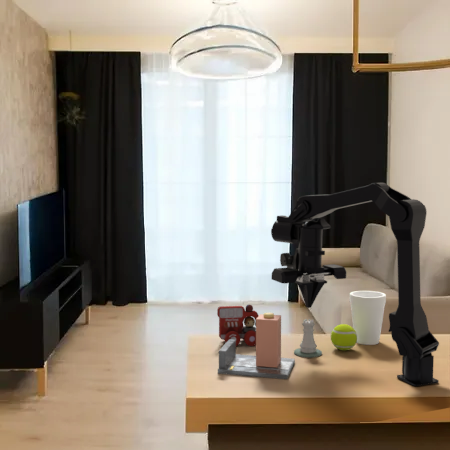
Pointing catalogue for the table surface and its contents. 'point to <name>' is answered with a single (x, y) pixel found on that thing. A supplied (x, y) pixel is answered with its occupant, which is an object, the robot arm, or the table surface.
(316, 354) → the round pad
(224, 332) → the toy fire truck
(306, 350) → the rook chess piece
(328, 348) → the table surface
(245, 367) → the rail
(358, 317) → the foam cup
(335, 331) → the tennis ball
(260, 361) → the block
